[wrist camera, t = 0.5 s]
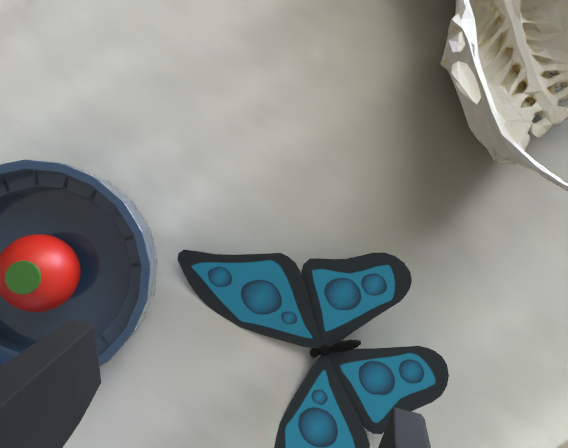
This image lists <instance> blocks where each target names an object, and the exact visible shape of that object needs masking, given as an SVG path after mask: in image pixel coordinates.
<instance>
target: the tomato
mask: <svg viewBox="0 0 568 448" xmlns="http://www.w3.org/2000/svg"><path fill="white" fill-rule="evenodd" d="M80 275H81V268H80V263H79V259H78V257H77V255H76V253H75V252H74V250H73V249H72V248H71V247H70V246H69V245H68V244H67V243H66V242H64V241H63V240H61V239H59V238H57V237H54V236H51V235H45V234H33V235H28V236H24V237H22V238H19V239H17V240H15V241H14V242H12V243H11V244H10V245H8V246H7V247H6V248H5V249H4V251H3V252H2V253H1V255H0V294H1V296H2V297H3V298H4V299H5V300H6V301H7V302H8V303H9V304H11V305H12V306H14V307H16V308H18V309H20V310H24V311H28V312H43V311H48V310H51V309H54V308H56V307H58V306H60V305H62V304H63V303H64V302H66V301H67V300H68V299H69V298H70V297H71V296H72V295H73V293H74V292H75V290H76V288H77V286H78V284H79V280H80Z"/></svg>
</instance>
